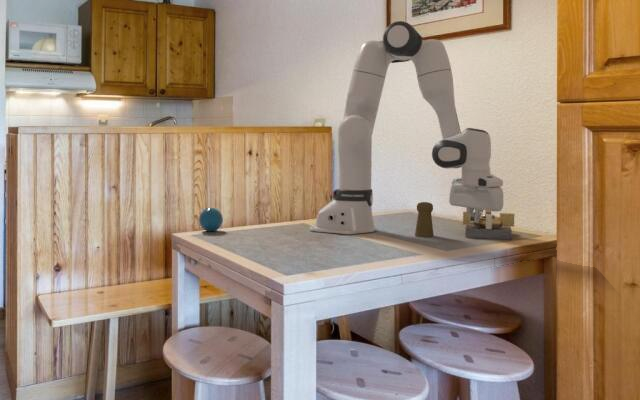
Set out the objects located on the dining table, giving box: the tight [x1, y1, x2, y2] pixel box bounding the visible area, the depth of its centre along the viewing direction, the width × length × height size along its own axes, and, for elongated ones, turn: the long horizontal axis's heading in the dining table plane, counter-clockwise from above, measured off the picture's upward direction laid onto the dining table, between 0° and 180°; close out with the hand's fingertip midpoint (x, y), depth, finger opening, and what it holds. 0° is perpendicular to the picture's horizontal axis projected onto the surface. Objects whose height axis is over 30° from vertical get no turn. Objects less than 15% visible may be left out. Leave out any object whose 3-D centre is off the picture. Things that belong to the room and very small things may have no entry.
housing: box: [464, 224, 513, 241], centre depth 189 cm, size 14×13×3 cm
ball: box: [198, 207, 224, 233], centre depth 194 cm, size 8×8×8 cm
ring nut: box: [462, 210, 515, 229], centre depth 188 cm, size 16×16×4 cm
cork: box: [414, 201, 434, 238], centre depth 187 cm, size 6×6×11 cm
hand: (474, 222), depth 185 cm, fingers closed
